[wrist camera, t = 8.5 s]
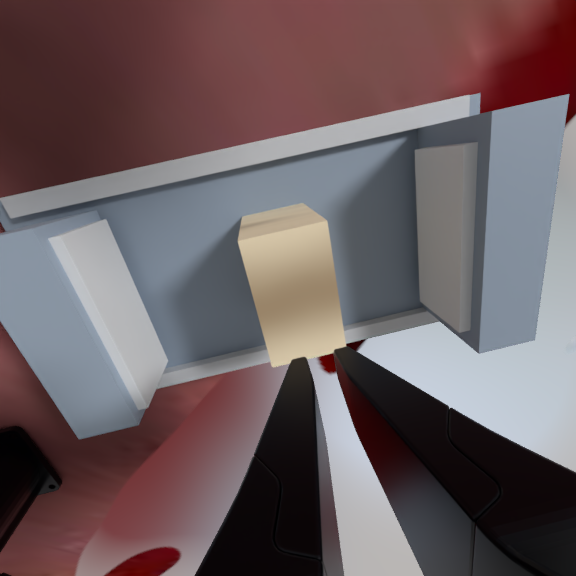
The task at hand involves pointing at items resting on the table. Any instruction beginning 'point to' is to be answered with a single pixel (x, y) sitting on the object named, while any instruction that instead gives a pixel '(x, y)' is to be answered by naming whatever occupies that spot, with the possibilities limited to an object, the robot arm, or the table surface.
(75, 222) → the block
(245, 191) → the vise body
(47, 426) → the table surface
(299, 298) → the block
